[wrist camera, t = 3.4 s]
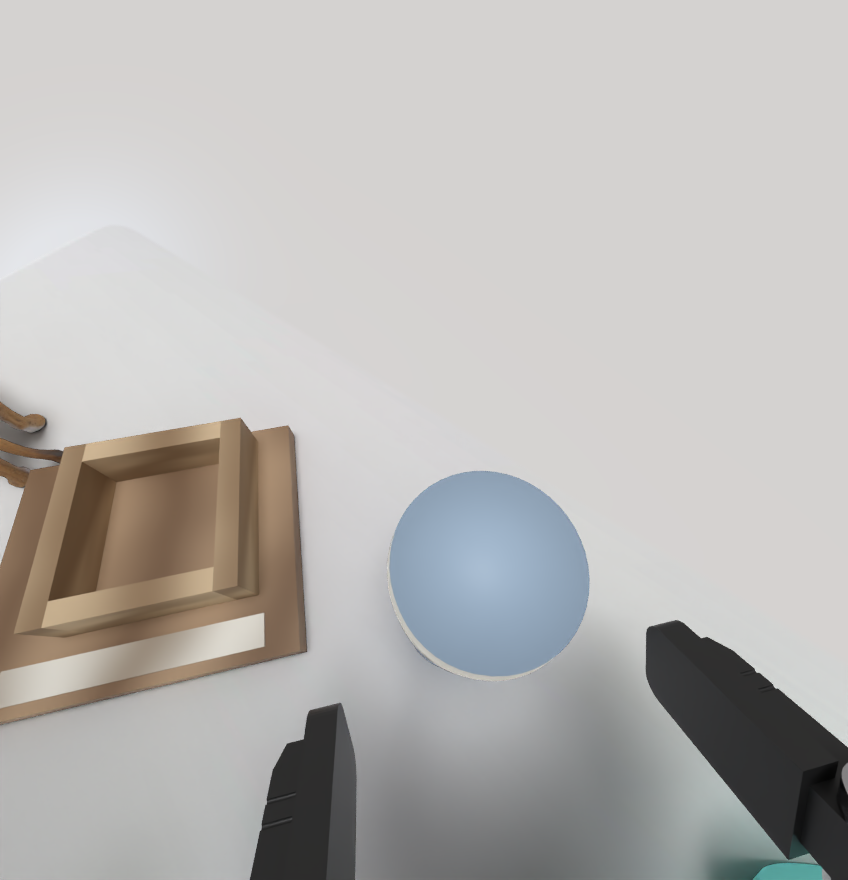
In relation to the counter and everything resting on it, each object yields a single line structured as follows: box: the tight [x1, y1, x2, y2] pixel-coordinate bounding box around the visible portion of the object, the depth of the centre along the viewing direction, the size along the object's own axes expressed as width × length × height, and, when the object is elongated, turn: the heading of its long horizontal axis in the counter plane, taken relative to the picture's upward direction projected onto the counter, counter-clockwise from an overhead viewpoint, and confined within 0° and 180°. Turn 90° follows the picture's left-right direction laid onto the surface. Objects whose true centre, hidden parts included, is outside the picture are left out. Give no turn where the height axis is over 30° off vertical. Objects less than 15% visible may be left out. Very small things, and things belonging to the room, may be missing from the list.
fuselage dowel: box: [387, 471, 589, 681], centre depth 14 cm, size 5×5×12 cm
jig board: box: [0, 418, 307, 725], centre depth 19 cm, size 14×12×4 cm
